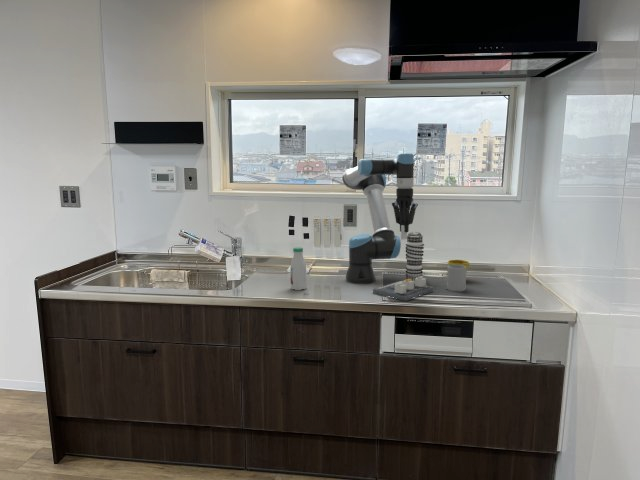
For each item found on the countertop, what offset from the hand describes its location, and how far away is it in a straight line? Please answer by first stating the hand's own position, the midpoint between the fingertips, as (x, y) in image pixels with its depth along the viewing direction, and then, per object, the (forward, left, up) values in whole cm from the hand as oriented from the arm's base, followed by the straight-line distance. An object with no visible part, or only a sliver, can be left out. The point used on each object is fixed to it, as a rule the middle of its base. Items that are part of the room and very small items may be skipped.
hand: (404, 239), depth 206 cm
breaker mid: (+5, -3, -22) cm, 23 cm away
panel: (+2, -3, -24) cm, 25 cm away
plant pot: (+9, +35, -25) cm, 44 cm away
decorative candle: (-6, +18, -25) cm, 31 cm away
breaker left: (+6, -11, -22) cm, 25 cm away
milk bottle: (-39, -31, -25) cm, 56 cm away
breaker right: (+6, +5, -22) cm, 23 cm away
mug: (+16, +20, -25) cm, 36 cm away
